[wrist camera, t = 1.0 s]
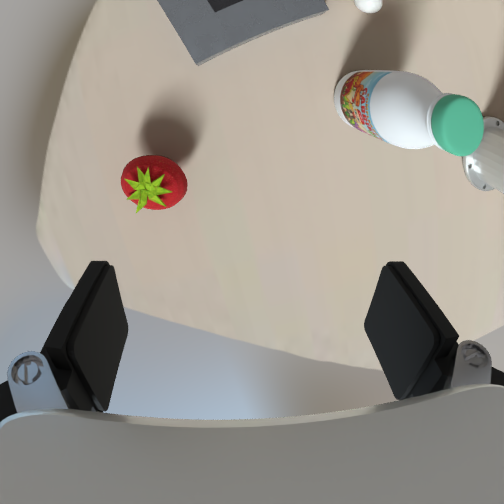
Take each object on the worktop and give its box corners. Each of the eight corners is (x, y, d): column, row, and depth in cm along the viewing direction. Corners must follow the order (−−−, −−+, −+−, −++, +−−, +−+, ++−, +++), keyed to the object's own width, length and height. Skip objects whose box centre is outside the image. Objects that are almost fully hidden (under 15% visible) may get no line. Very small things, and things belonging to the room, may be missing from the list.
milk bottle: (366, 59, 31) (475, 58, 14) (397, 108, 34) (507, 145, 17) (319, 91, 33) (406, 107, 16) (354, 140, 37) (448, 197, 19)
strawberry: (186, 197, 39) (174, 233, 31) (130, 183, 37) (104, 215, 29) (198, 154, 36) (188, 178, 28) (139, 139, 35) (112, 159, 26)
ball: (367, -11, 26) (379, -17, 23) (379, 12, 28) (392, 8, 25) (344, -6, 26) (355, -12, 23) (356, 17, 28) (368, 13, 25)
